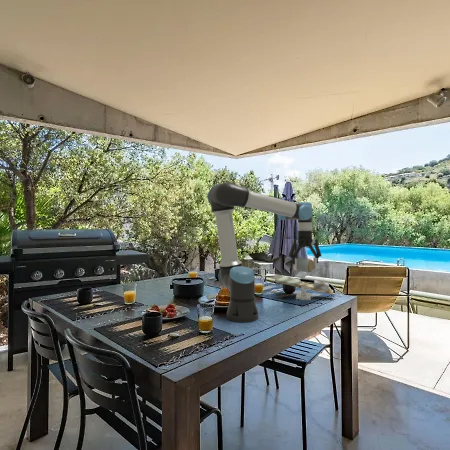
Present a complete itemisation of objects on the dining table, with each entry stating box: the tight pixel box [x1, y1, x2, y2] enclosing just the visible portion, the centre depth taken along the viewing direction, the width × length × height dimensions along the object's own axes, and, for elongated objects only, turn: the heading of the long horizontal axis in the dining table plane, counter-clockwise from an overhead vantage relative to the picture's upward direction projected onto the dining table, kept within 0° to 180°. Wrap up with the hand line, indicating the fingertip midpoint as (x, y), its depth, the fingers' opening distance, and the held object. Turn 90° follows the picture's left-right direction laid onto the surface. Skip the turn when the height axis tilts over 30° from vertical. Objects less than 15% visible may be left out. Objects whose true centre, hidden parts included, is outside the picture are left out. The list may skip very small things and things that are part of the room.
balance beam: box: [274, 274, 334, 295], centre depth 194 cm, size 33×15×5 cm, turn 75°
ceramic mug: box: [296, 256, 314, 273], centre depth 184 cm, size 11×8×8 cm
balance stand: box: [295, 286, 312, 301], centre depth 194 cm, size 8×12×7 cm, turn 164°
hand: (305, 269), depth 183 cm, fingers closed on ceramic mug, 11 cm apart
